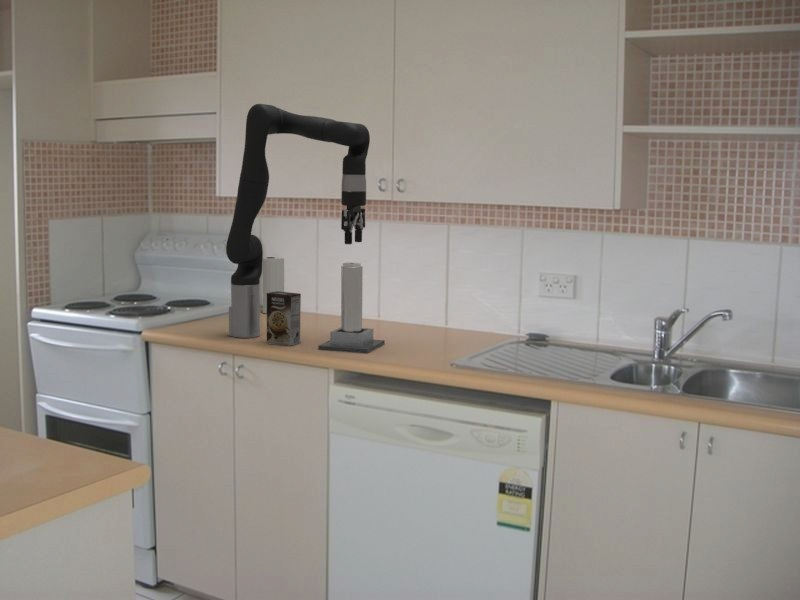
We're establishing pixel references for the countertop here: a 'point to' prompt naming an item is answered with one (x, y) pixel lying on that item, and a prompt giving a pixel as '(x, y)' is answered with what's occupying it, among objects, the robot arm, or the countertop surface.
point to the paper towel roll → (272, 277)
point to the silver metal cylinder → (351, 297)
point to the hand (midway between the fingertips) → (353, 243)
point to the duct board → (352, 341)
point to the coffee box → (283, 318)
